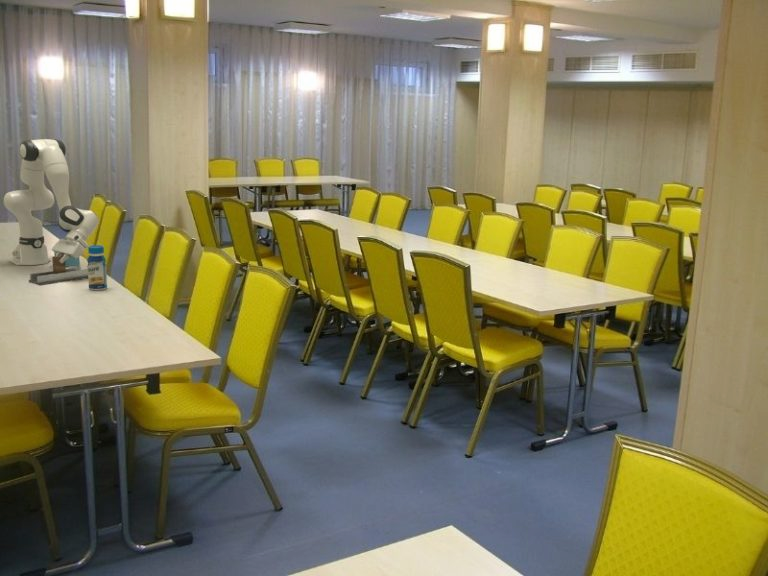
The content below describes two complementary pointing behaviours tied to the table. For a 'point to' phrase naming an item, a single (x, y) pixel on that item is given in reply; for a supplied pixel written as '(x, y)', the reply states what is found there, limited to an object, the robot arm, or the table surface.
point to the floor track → (58, 276)
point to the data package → (71, 261)
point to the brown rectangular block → (58, 265)
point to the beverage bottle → (97, 268)
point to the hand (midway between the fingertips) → (57, 261)
